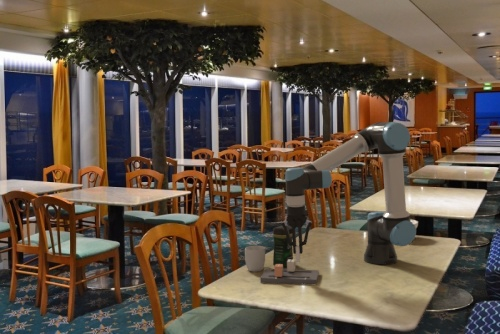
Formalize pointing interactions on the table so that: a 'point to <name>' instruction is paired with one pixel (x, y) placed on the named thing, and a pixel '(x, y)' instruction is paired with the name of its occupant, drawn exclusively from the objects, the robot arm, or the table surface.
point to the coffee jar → (282, 246)
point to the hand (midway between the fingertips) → (298, 261)
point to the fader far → (291, 265)
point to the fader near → (278, 270)
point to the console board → (291, 277)
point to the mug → (255, 258)
